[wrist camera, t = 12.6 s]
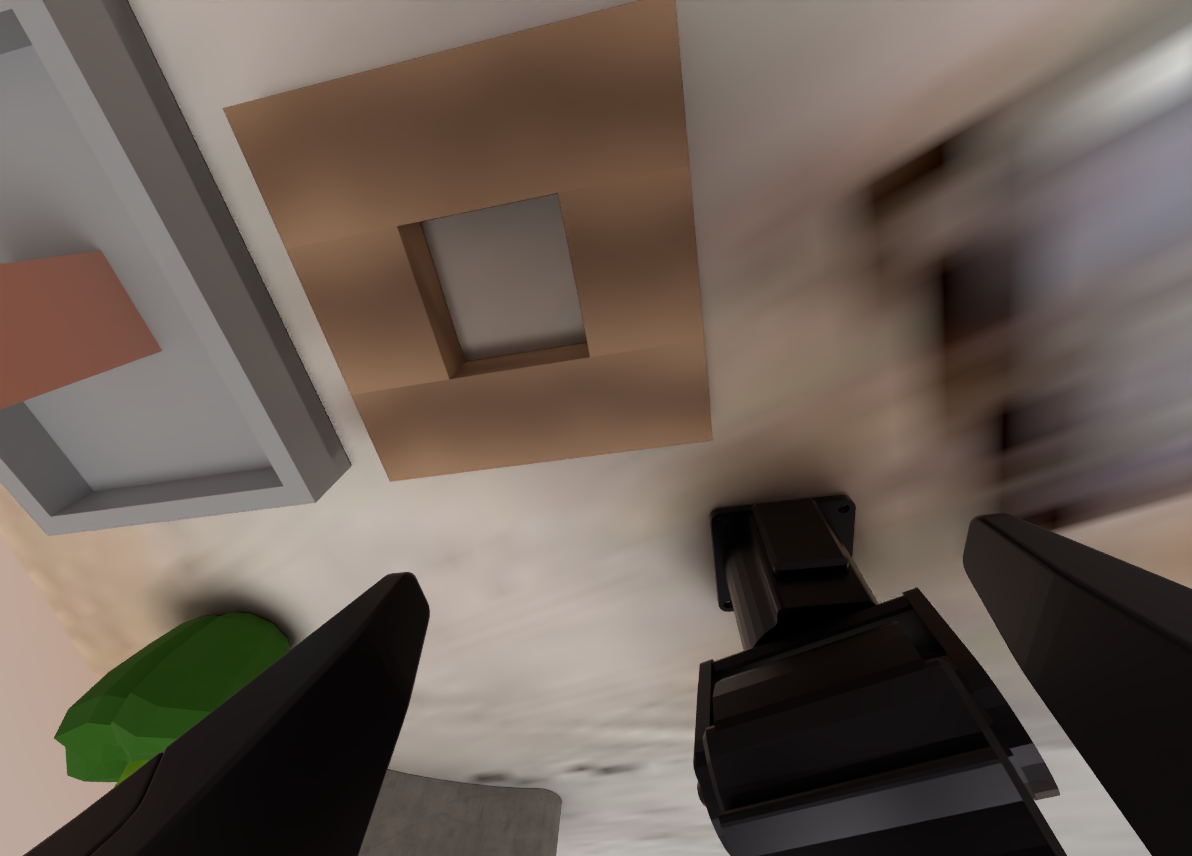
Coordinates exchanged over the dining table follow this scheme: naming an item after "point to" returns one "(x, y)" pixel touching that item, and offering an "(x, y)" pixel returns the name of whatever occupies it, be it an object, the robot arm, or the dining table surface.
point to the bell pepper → (164, 693)
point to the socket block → (486, 179)
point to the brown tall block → (64, 324)
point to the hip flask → (460, 819)
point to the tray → (142, 295)
